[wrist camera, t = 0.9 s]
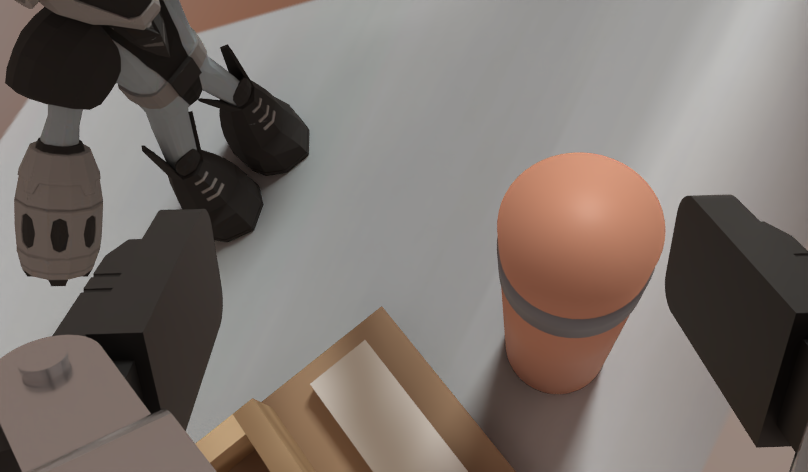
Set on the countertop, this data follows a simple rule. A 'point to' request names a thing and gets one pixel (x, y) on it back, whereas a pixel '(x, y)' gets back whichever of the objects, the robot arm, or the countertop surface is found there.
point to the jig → (356, 416)
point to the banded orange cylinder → (573, 264)
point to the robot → (167, 113)
